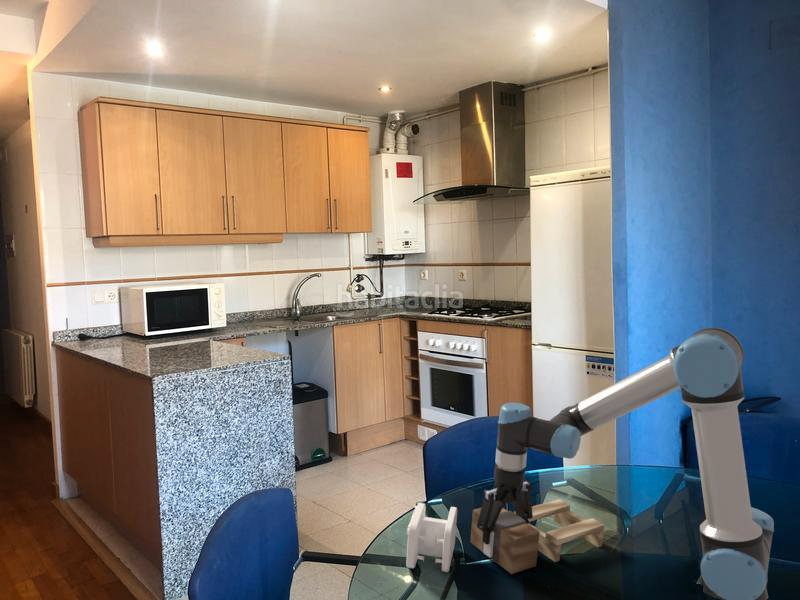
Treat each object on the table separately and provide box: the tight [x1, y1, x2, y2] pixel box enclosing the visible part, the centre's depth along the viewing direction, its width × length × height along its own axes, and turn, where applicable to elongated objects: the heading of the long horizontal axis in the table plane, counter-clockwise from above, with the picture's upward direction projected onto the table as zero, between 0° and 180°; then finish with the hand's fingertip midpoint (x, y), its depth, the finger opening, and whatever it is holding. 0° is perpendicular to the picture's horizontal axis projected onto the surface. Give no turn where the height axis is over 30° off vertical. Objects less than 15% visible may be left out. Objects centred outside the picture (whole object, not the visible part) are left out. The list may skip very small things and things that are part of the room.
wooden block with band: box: [469, 507, 539, 575], centre depth 162 cm, size 16×8×9 cm, turn 32°
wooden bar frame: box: [513, 498, 605, 563], centre depth 171 cm, size 16×17×6 cm
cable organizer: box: [405, 502, 458, 573], centre depth 157 cm, size 15×11×12 cm
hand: (502, 549), depth 162 cm, fingers open, 9 cm apart
